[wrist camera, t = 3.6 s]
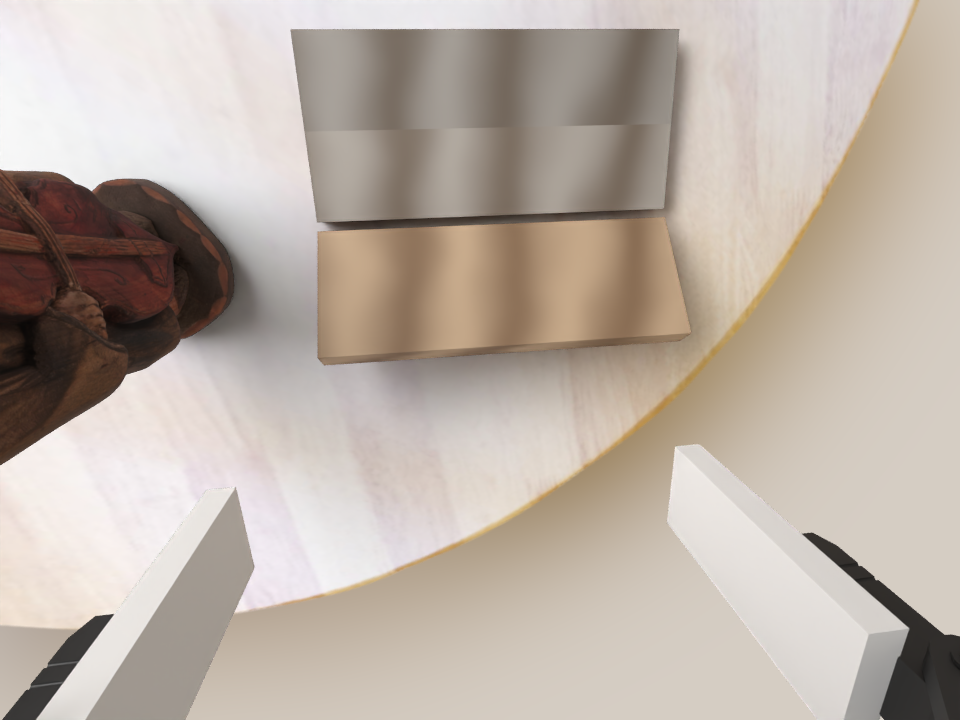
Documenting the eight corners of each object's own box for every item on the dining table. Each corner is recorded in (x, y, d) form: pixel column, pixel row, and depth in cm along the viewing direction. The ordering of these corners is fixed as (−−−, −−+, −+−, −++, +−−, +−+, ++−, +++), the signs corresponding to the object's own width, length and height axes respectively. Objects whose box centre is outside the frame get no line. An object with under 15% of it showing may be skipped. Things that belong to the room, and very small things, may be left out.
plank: (324, 365, 28) (317, 358, 27) (323, 244, 30) (317, 231, 29) (679, 340, 30) (691, 333, 29) (654, 229, 33) (664, 217, 31)
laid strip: (321, 221, 30) (317, 222, 29) (297, 38, 27) (290, 29, 26) (653, 208, 33) (663, 208, 31) (666, 37, 29) (679, 29, 28)
